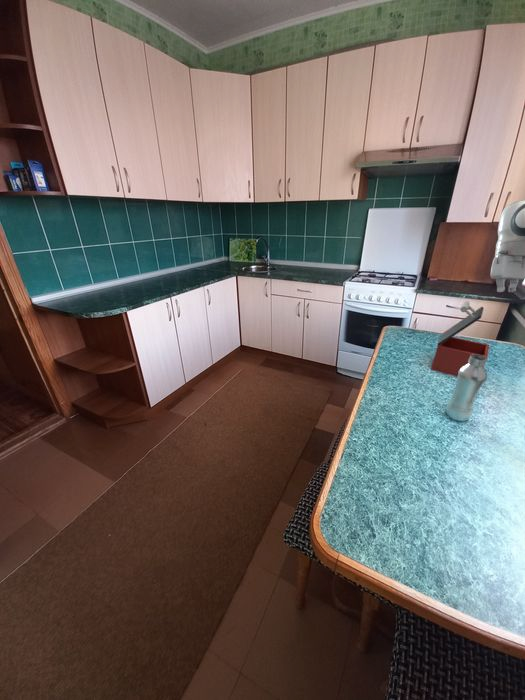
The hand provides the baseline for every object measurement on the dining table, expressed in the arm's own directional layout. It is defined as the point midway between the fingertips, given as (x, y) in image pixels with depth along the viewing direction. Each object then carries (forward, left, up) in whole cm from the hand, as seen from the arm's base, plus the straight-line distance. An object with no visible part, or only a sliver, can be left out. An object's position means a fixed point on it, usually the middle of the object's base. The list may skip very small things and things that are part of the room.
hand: (506, 292), depth 104 cm
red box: (-1, +18, -27) cm, 32 cm away
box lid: (+2, +19, -10) cm, 21 cm away
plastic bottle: (-18, +44, -27) cm, 54 cm away
